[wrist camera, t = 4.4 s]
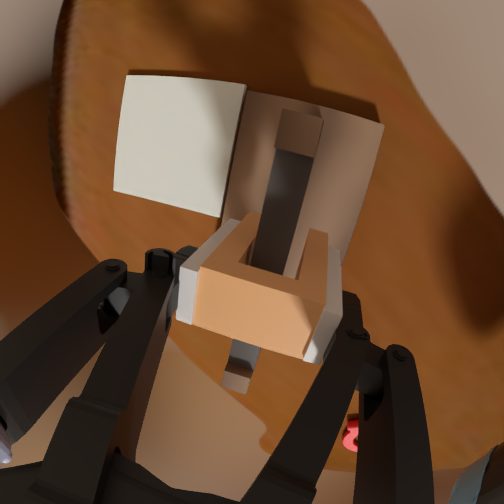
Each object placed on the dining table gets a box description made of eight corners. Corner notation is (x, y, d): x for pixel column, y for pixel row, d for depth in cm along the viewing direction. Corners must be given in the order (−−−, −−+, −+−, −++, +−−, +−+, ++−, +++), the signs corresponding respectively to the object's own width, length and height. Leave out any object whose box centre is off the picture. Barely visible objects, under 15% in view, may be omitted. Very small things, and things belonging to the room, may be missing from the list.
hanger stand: (380, 125, 20) (432, 124, 9) (316, 321, 27) (304, 421, 17) (252, 92, 21) (188, 66, 11) (214, 290, 29) (159, 374, 18)
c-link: (328, 233, 18) (325, 304, 11) (314, 275, 19) (302, 359, 12) (250, 211, 19) (200, 265, 12) (241, 253, 20) (192, 324, 13)
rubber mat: (247, 85, 21) (245, 84, 20) (221, 215, 25) (219, 217, 25) (130, 75, 22) (126, 75, 21) (117, 189, 27) (113, 190, 26)
